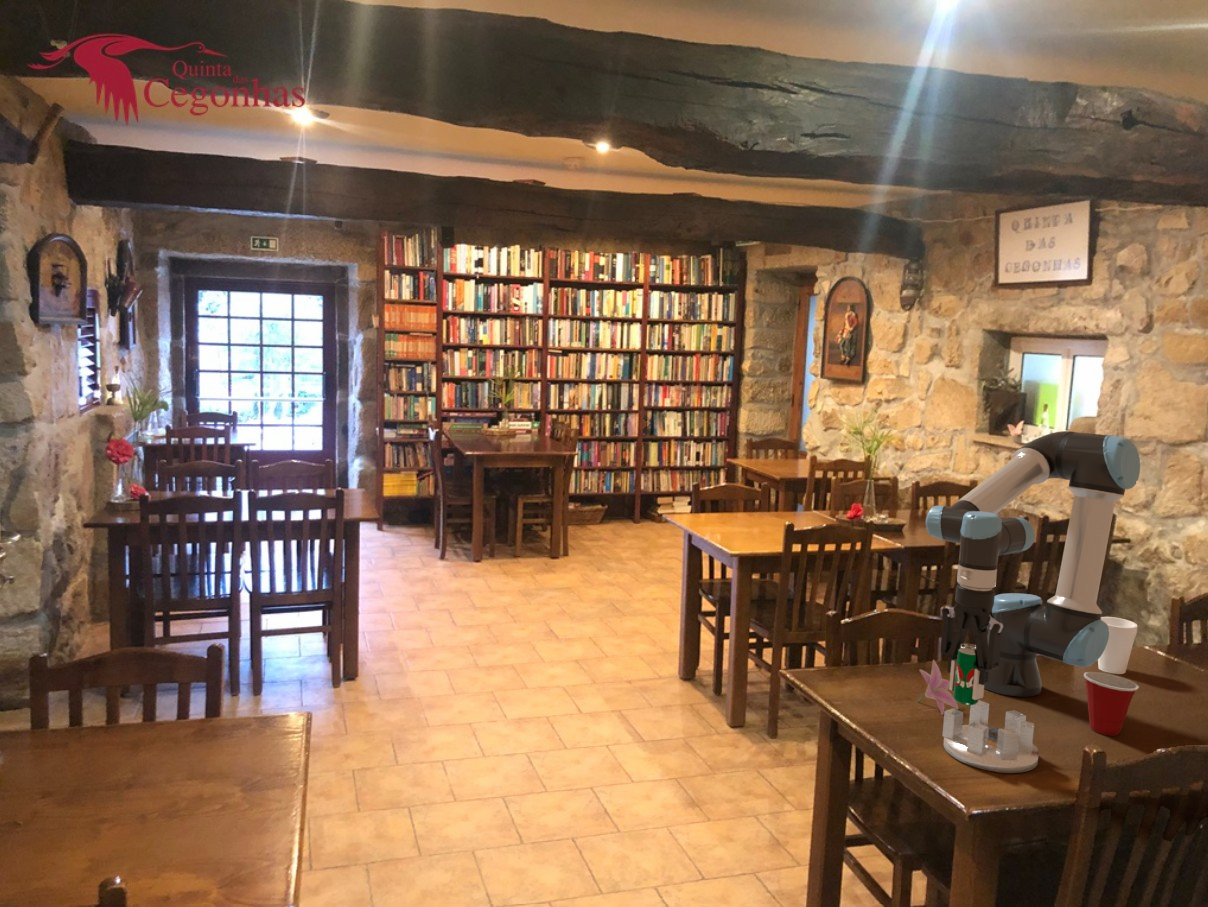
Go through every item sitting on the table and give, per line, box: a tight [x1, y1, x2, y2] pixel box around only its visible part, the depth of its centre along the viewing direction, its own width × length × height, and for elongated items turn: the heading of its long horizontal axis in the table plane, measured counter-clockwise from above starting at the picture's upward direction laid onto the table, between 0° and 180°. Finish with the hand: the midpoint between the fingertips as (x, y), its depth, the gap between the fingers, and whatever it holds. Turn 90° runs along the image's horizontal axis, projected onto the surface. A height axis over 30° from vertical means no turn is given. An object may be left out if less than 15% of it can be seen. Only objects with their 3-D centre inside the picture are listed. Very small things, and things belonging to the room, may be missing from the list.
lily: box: [917, 659, 959, 716], centre depth 212 cm, size 12×12×10 cm
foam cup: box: [1097, 616, 1138, 675], centre depth 241 cm, size 10×9×13 cm
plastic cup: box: [1083, 671, 1140, 737], centre depth 202 cm, size 11×11×12 cm
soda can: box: [952, 642, 980, 706], centre depth 192 cm, size 5×5×12 cm
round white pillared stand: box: [942, 699, 1039, 774], centre depth 188 cm, size 18×18×8 cm
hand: (965, 693), depth 193 cm, fingers closed on soda can, 5 cm apart
